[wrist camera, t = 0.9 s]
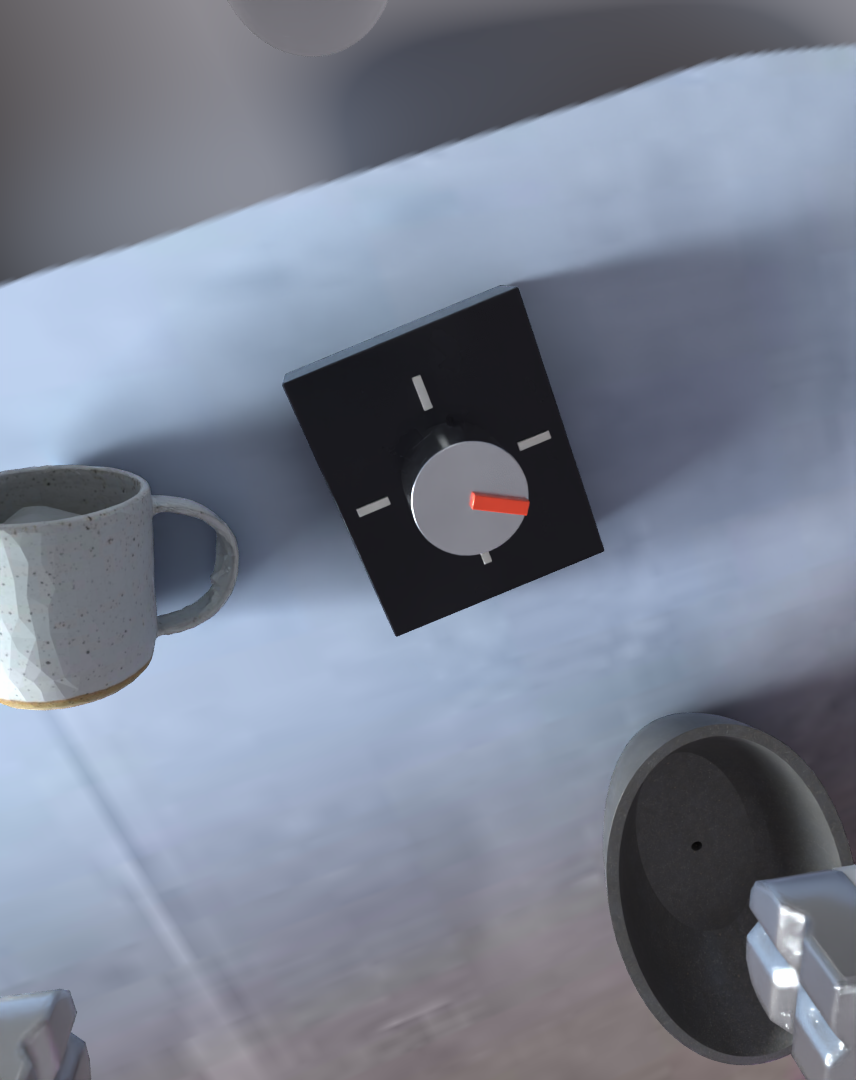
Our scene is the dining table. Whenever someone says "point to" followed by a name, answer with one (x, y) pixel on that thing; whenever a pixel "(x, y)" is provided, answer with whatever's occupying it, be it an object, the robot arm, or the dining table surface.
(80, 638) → the ceramic mug
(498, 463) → the silver dial knob
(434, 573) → the black dial plate
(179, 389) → the dining table surface
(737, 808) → the bowl
